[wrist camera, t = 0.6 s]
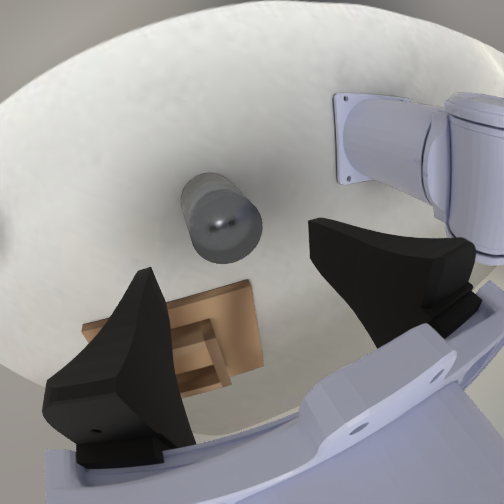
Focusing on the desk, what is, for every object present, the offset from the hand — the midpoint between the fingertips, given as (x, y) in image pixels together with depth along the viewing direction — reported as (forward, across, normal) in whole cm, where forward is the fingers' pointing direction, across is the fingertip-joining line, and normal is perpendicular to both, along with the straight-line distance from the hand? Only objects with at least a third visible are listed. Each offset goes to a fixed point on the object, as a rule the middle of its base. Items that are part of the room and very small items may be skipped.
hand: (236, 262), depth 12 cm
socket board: (+9, +6, +14) cm, 18 cm away
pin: (+9, 0, 0) cm, 9 cm away
